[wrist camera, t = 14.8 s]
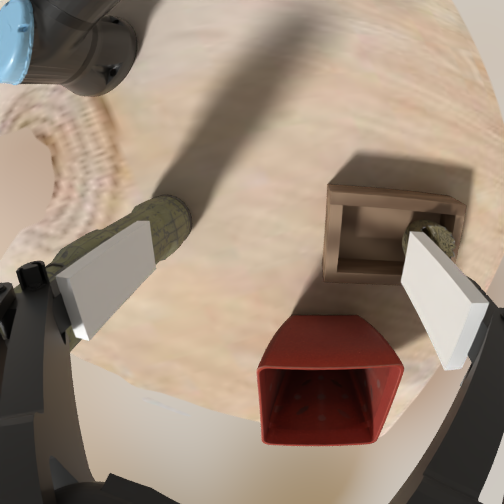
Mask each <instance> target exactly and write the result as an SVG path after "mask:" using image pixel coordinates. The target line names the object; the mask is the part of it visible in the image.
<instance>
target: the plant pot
mask: <svg viewBox="0 0 504 504" xmlns="http://www.w3.org/2000/svg"><path fill="white" fill-rule="evenodd" d="M403 372H404V366H403V364H402V362H401V361H400V359H399V357H398V356H397V354H396V353H395V351H394V350H393V349H392V347H391V346H390V345H389V343H388V342H387V341H386V340H385V339H384V337H383V336H382V335H381V334H380V333H379V332H378V331H377V330H376V329H375V328H374V327H373V326H372V325H370V324H369V323H368V322H367V321H365V320H364V319H363V318H361V317H360V316H358V315H292V316H291V317H289V318H288V319H287V320H286V321H285V322H284V323H283V325H282V326H281V327H280V328H279V329H278V331H277V332H276V333H275V335H274V336H273V338H272V340H271V341H270V343H269V345H268V347H267V348H266V350H265V352H264V355H263V357H262V359H261V361H260V363H259V366H258V368H257V384H258V394H259V406H260V420H261V438H262V442H263V443H265V444H268V445H284V446H285V445H286V446H343V445H362V444H371V443H374V442H376V441H377V439H378V437H379V435H380V432H381V430H382V428H383V425H384V423H385V420H386V418H387V415H388V413H389V410H390V408H391V405H392V403H393V400H394V397H395V395H396V392H397V389H398V386H399V384H400V381H401V378H402V375H403Z"/></svg>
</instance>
